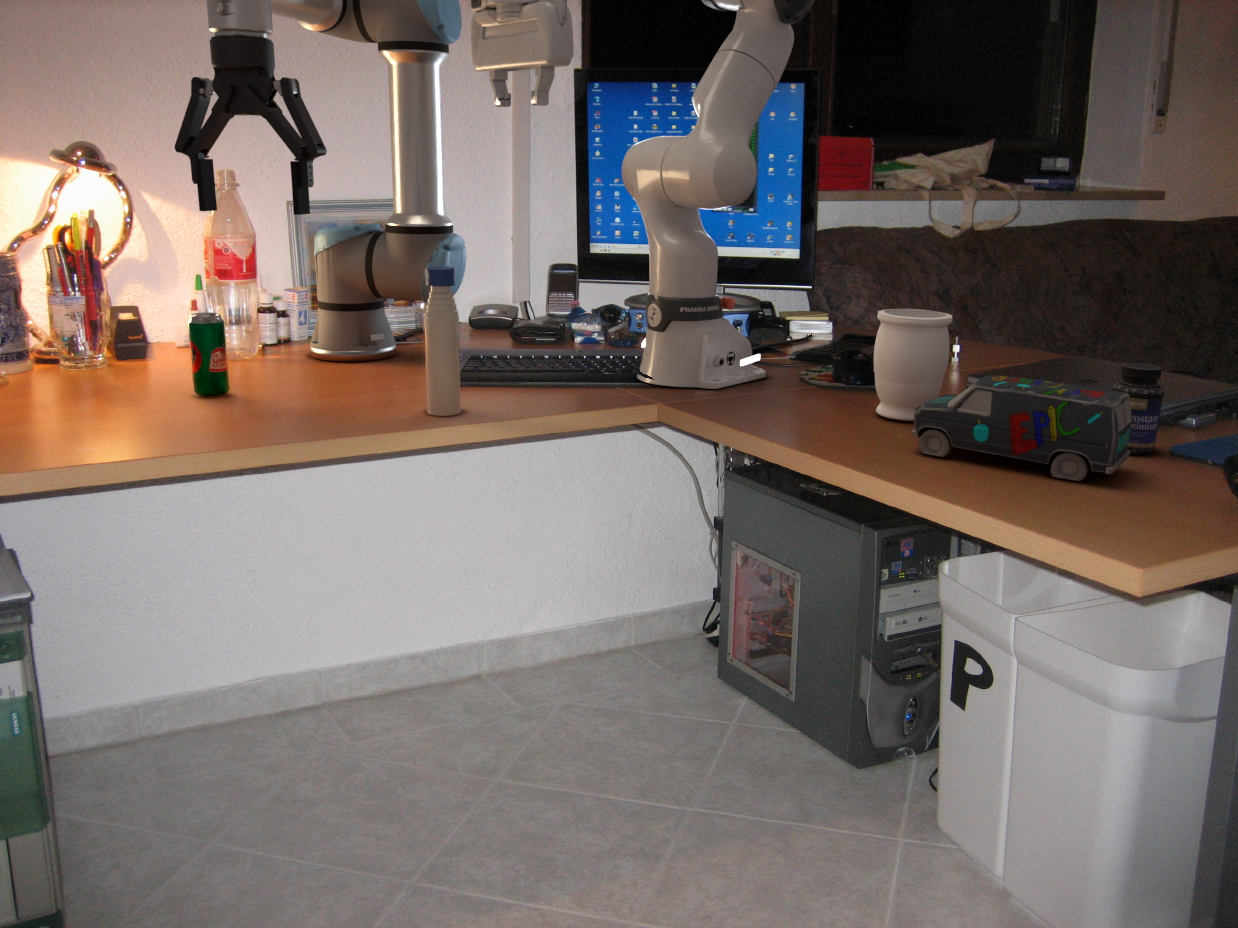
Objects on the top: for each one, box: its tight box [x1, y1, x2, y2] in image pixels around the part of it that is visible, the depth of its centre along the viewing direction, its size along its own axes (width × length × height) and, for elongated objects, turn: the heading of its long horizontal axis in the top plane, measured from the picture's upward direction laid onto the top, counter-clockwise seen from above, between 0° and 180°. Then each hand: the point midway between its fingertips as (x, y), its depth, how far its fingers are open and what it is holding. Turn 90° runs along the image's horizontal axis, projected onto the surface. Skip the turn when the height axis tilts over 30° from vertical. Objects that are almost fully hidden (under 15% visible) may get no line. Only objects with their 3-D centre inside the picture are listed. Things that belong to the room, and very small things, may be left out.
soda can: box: [187, 312, 231, 398], centre depth 160 cm, size 5×5×12 cm
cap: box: [425, 266, 455, 287], centre depth 148 cm, size 4×4×2 cm
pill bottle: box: [1111, 362, 1165, 455], centre depth 139 cm, size 6×6×11 cm
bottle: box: [423, 286, 462, 417], centre depth 151 cm, size 5×5×20 cm
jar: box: [873, 308, 953, 422], centre depth 154 cm, size 11×10×15 cm
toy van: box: [911, 374, 1133, 482], centre depth 133 cm, size 11×25×10 cm, turn 54°
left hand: (254, 213), depth 138 cm, fingers open, 13 cm apart
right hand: (520, 106), depth 141 cm, fingers open, 8 cm apart
